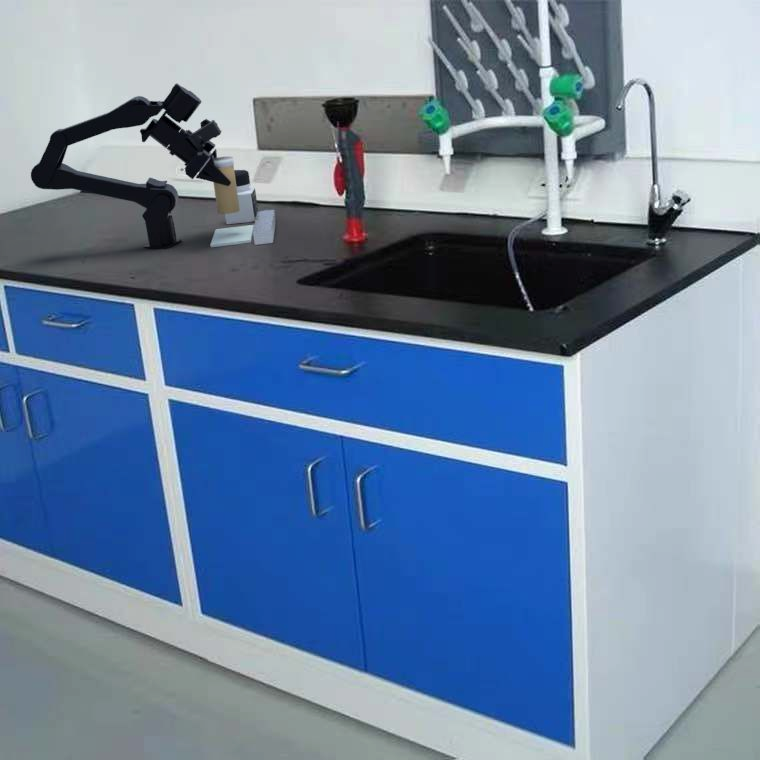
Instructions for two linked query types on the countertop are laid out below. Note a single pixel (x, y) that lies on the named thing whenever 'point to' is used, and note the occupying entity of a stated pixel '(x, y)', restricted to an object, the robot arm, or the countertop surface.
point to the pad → (232, 236)
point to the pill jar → (226, 187)
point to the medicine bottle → (244, 200)
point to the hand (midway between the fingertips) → (230, 182)
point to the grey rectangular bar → (264, 227)
